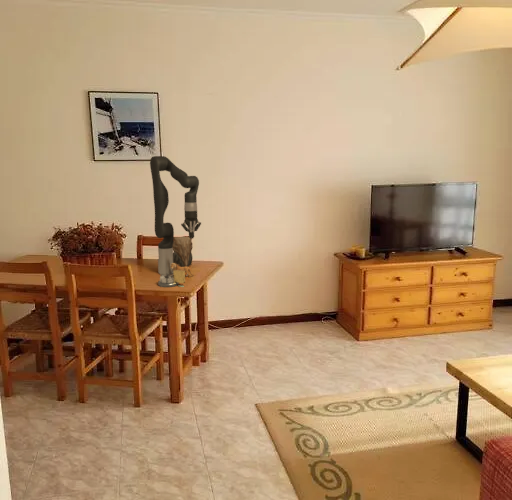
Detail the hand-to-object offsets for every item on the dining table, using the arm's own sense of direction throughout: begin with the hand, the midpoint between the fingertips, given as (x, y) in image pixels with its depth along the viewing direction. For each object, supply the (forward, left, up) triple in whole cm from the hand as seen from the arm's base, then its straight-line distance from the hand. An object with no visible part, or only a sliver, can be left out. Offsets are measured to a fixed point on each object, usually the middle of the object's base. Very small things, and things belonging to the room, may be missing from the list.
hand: (191, 238), depth 297 cm
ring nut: (-3, -13, -25) cm, 28 cm away
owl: (-36, +23, -27) cm, 51 cm away
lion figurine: (-14, +3, -27) cm, 31 cm away
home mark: (+3, -12, -27) cm, 30 cm away
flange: (-6, -14, -27) cm, 31 cm away
